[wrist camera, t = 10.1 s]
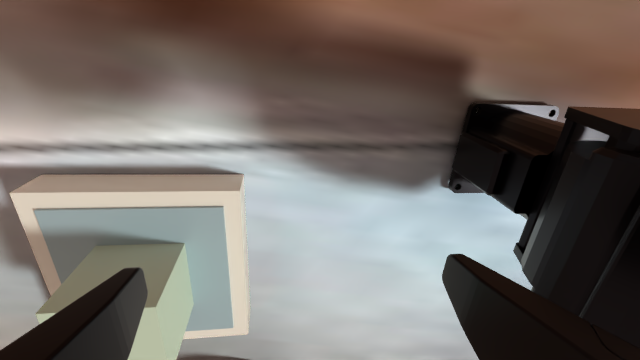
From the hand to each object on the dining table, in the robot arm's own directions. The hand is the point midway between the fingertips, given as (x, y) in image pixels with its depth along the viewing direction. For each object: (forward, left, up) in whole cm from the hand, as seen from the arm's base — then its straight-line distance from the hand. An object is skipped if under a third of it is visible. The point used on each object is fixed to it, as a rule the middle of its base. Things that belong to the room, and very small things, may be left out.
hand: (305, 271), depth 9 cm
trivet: (+9, +8, -12) cm, 17 cm away
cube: (+9, +8, -9) cm, 15 cm away
